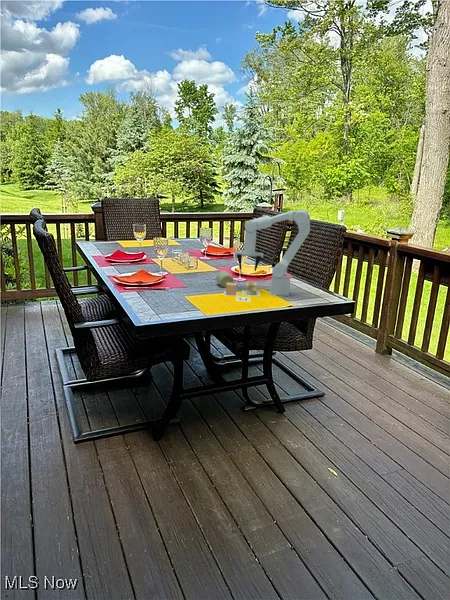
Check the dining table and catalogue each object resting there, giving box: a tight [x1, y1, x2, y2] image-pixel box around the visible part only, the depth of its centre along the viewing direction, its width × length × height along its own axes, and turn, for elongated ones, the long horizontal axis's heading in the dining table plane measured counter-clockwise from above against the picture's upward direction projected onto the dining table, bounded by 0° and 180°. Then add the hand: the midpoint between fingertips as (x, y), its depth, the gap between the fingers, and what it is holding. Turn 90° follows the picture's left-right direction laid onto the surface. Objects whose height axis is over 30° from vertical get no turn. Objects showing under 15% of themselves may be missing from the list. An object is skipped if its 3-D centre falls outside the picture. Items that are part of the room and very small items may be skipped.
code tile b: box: [223, 290, 239, 297], centre depth 217 cm, size 7×7×1 cm
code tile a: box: [235, 296, 251, 303], centre depth 209 cm, size 7×7×1 cm
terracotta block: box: [225, 282, 238, 296], centre depth 216 cm, size 5×5×5 cm
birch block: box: [245, 281, 258, 295], centre depth 219 cm, size 5×5×5 cm
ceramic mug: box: [215, 270, 236, 289], centre depth 230 cm, size 11×8×8 cm
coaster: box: [241, 289, 261, 297], centre depth 220 cm, size 9×9×1 cm
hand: (247, 270), depth 225 cm, fingers open, 7 cm apart
